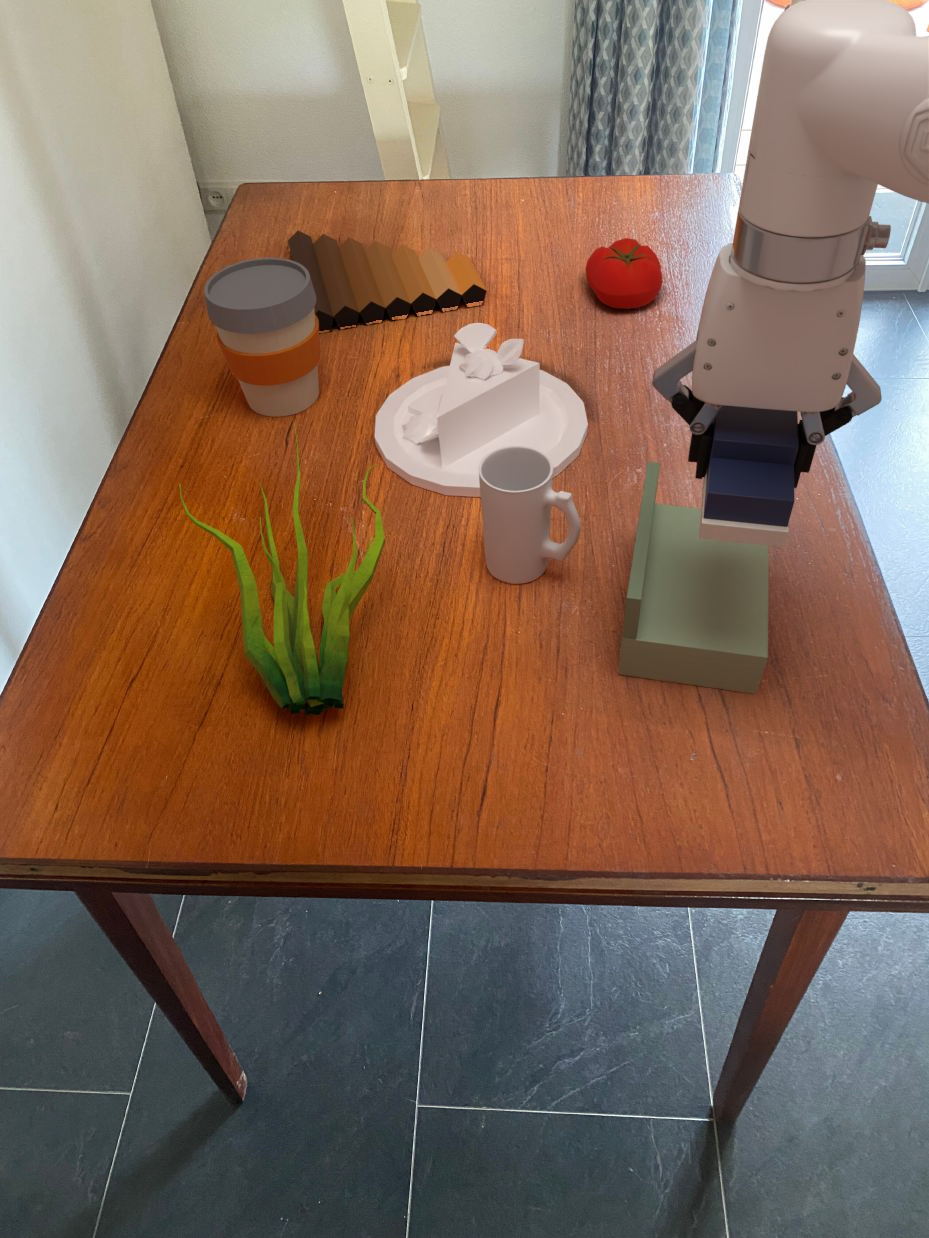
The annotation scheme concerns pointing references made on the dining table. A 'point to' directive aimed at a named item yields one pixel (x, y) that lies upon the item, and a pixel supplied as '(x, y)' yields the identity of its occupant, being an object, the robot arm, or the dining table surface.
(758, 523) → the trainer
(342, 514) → the dining table surface
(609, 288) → the tomato
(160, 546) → the dining table surface
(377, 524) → the decorative plant
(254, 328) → the reusable coffee cup
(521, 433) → the dish
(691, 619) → the sage stepped base
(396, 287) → the pan flute
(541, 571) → the mug
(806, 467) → the robot arm
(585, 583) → the dining table surface
